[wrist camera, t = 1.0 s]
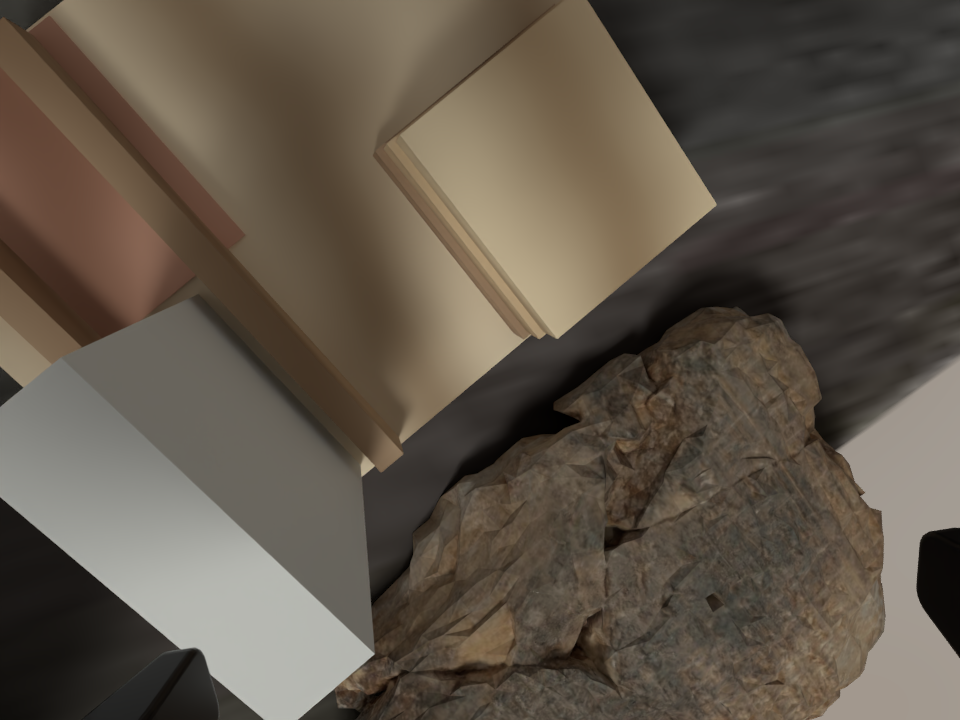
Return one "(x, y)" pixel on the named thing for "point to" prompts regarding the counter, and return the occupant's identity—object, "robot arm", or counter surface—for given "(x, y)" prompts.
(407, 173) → the oak offcut
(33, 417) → the panel
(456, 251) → the tan wooden square tile
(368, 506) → the counter surface
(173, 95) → the rack
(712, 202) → the pine offcut
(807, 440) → the craggy brown boulder
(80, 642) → the counter surface
